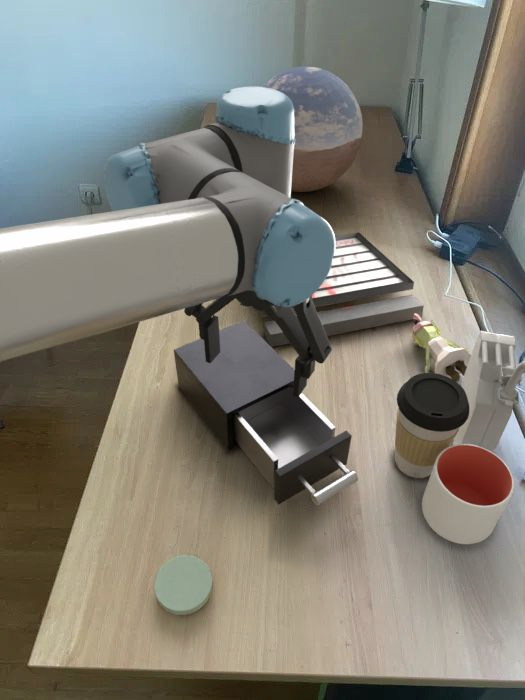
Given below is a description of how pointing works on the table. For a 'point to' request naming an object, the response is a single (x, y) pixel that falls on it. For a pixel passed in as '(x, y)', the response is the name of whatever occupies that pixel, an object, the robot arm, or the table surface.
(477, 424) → the jerry can
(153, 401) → the table surface
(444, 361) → the figurine
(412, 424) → the coffee cup
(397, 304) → the shutter
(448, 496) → the cup
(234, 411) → the cabinet
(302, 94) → the sphere
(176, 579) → the plate
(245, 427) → the drawer
